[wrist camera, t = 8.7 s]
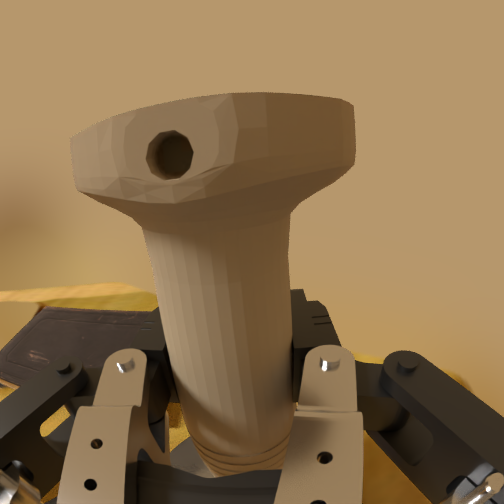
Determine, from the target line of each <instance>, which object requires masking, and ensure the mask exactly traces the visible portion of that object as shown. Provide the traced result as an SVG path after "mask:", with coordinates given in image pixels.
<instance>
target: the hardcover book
mask: <svg viewBox="0 0 504 504" xmlns="http://www.w3.org/2000/svg"><path fill="white" fill-rule="evenodd" d="M149 313H151V311H116V310H94V309H77V308H62V307H49V306H46V307H45V308H44V309H42V310H41V311H40V312H39V313H38V314H37V315H36V316H35V317H34V318H33V319H32V320H31V321H30V322H29V323H28V324H27V325H26V326H24V327H23V328H22V329H21V330H20V332H19V333H17V334H16V335H15V336H14V338H13V339H11V341H9V343H8V344H6V346H5V347H4V348H3V349H2V350H1V351H0V388H6V387H11V388H13V389H18V388H19V387H20V386H22V385H23V384H24V383H26V382H27V381H28V380H30V379H31V378H32V377H34V376H35V375H36V374H37V373H39V372H40V371H41V370H43V369H44V368H46V367H47V366H48V365H50V364H51V363H52V362H54V361H55V360H57V359H59V358H61V357H65V356H75V357H78V358H79V359H80V360H81V361H82V363H83V365H84V368H85V369H87V368H95V367H103V366H104V364H105V361H106V360H107V358H108V357H109V356H110V355H112V354H113V353H115V352H117V351H119V350H123V349H128V348H129V347H130V345H131V343H132V342H133V340H134V338H135V336H136V335H137V333H138V331H139V330H141V326H142V325H143V323H145V322H144V321H145V320H146V318H147V316H148V315H149ZM63 407H65V406H64V405H63Z"/></svg>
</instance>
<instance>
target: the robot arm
mask: <svg viewBox="0 0 504 504" xmlns="http://www.w3.org/2000/svg"><path fill="white" fill-rule="evenodd" d="M290 296H291V314H292V349H293V398H292V402H293V403H294V402H298V406H297V409H295V413H294V417H293V422H292V427H291V432H290V437H289V442H288V446H287V451H286V456H285V460H284V464H283V469H276V470H254V471H249V472H244V473H239V474H234V475H228V476H222V477H216V478H205V477H201V476H198V475H195V474H192V473H189V472H186V471H183V470H180V469H177V468H174V467H172V466H171V462H170V448H169V415H168V412H167V406H168V403H169V402H173V403H180V401H179V397H178V393H177V389H176V385H175V381H174V377H173V372H172V368H171V363H170V358H169V353H168V349H167V344H166V340H165V335H164V330H163V325H162V320H161V315H160V310H159V307H157V308H156V309H155V310H153V311H152V312H151V313H149V315H148V316H147V318H146V320H145V321H144V322H145V323H143V325H142V326H141V330H139V331H138V333H137V335H136V336H135V338H134V340H133V342H132V343H131V345H130V347H129V348H128V349H123V350H119V351H117V352H115V353H113V354H112V355H110V356H109V357H108V358H107V360H106V361H105V364H104V366H103V367H95V368H87V369H85V368H84V365H83V363H82V361H81V360H80V359H79V358H78V357H75V356H65V357H61V358H59V359H57V360H55V361H54V362H52V363H51V364H50V365H48V366H47V367H46V368H44V369H43V370H41V371H40V372H39V373H37V374H36V375H35V376H34V377H32V378H31V379H30V380H28V381H27V382H26V383H24V384H23V385H22V386H20V387H19V388H18V389H16V390H15V391H14V392H13V393H11V394H10V395H9V396H7V397H6V398H5V399H3V400H2V401H1V402H0V504H363V503H362V488H363V430H366V432H367V433H368V435H369V436H370V437H371V438H372V439H373V440H374V441H375V442H376V444H377V445H378V446H379V447H380V448H381V449H382V450H383V451H384V452H385V453H386V455H387V456H388V457H389V458H390V459H391V460H392V461H393V462H394V463H395V464H396V465H397V466H398V468H399V469H400V470H401V471H402V472H403V473H404V474H405V475H406V476H407V477H408V478H409V479H410V480H411V481H412V482H413V484H414V485H415V486H416V487H417V488H418V489H419V490H420V491H421V492H422V493H423V494H424V495H425V496H426V497H427V498H428V499H429V500H430V501H431V502H432V503H433V504H504V417H502V416H501V415H500V414H498V413H497V412H496V411H495V410H493V409H492V408H491V407H489V406H488V405H487V404H485V403H484V402H483V401H481V400H480V399H479V398H477V397H476V396H475V395H474V394H472V393H471V392H470V391H468V390H467V389H466V388H464V387H463V386H462V385H460V384H459V383H458V382H456V381H455V380H454V379H452V378H451V377H450V376H448V375H447V374H446V373H444V372H443V371H442V370H440V369H439V368H437V367H436V366H435V365H433V364H432V363H431V362H429V361H428V360H427V359H425V358H424V357H422V356H421V355H419V354H417V353H415V352H411V351H396V352H393V353H391V354H389V355H388V356H387V357H386V358H385V360H384V363H383V364H373V363H363V362H359V361H356V360H355V359H354V356H353V354H352V353H351V352H350V351H349V350H347V349H345V348H343V347H342V346H341V344H340V341H339V339H338V336H337V334H336V331H335V329H334V326H333V324H332V321H331V319H330V317H329V314H328V311H327V309H326V307H325V306H324V305H322V304H321V303H320V302H319V301H307V300H306V297H305V294H304V291H303V289H293V290H290ZM63 405H64V406H65V408H66V409H67V411H68V412H69V414H70V416H69V417H68V418H67V419H66V420H65V421H64V422H63V423H61V424H60V425H59V426H58V427H57V428H56V429H55V430H54V431H53V432H51V433H50V434H49V435H48V436H46V437H42V436H41V434H40V426H41V424H42V423H43V422H44V421H45V420H47V419H48V418H49V417H50V416H51V415H52V414H54V413H55V412H56V411H57V410H58V409H59V408H61V407H62V406H63ZM419 421H420V422H419ZM59 481H60V486H59V492H58V496H57V497H55V498H54V499H52V500H50V501H48V502H46V503H43V502H42V501H41V499H42V498H43V497H44V496H45V495H46V494H47V493H48V492H49V491H50V490H51V489H52V488H53V487H54V486H55V485H56V484H57V483H58V482H59Z"/></svg>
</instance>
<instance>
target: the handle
mask: <svg viewBox="0 0 504 504" xmlns="http://www.w3.org/2000/svg"><path fill="white" fill-rule="evenodd" d="M355 142H356V139H355V119H354V107H353V105H352V104H350V103H349V102H346V101H344V100H342V99H338V98H330V97H322V96H313V95H302V94H289V93H267V92H256V93H228V94H218V95H209V96H201V97H194V98H189V99H182V100H177V101H172V102H167V103H162V104H157V105H153V106H149V107H144V108H140V109H136V110H133V111H129V112H126V113H122V114H119V115H116V116H113V117H110V118H108V119H105V120H103V121H100V122H98V123H96V124H94V125H92V126H90V127H88V128H86V129H85V130H83V131H81V132H79V133H78V134H76V135H74V136H72V137H71V138H70V148H71V160H72V168H73V176H74V181H75V186H76V188H77V190H78V191H79V192H81V193H83V194H85V195H87V196H89V197H91V198H93V199H95V200H96V201H98V202H100V203H102V204H105V205H107V206H109V207H112V208H114V209H117V210H118V211H120V212H122V213H124V214H126V215H128V216H130V217H132V218H133V219H134V220H135V221H136V222H137V223H138V224H139V225H140V226H141V227H142V230H143V234H144V238H145V242H146V246H147V249H148V253H149V257H150V261H151V264H152V268H153V275H154V281H155V287H156V293H157V299H158V305H159V310H160V315H161V320H162V325H163V330H164V335H165V340H166V344H167V349H168V353H169V358H170V363H171V368H172V372H173V377H174V381H175V385H176V389H177V393H178V397H179V401H180V406H181V409H182V413H183V417H184V421H185V424H186V426H187V429H188V432H189V434H190V436H191V439H192V441H193V443H194V446H195V448H196V450H197V452H198V454H199V455H200V457H201V459H202V460H203V462H204V463H205V465H206V466H207V468H208V469H209V470H210V471H211V473H212V474H213V475H214V477H215V478H216V477H222V476H228V475H234V474H239V473H244V472H249V471H254V470H276V469H283V464H284V460H285V456H286V451H287V446H288V442H289V437H290V432H291V427H292V422H293V417H294V413H295V409H297V405H296V402H294V403H293V402H292V398H293V349H292V314H291V296H290V280H289V263H288V246H289V229H290V214H291V212H292V211H293V210H294V209H295V208H296V207H297V205H298V204H299V203H301V202H302V201H303V200H305V199H307V198H308V197H310V196H311V195H313V194H314V193H316V192H318V191H320V190H321V189H323V188H325V187H327V186H328V185H330V184H332V183H334V182H335V181H336V180H338V179H339V178H340V177H341V176H343V175H344V174H345V173H346V172H347V171H348V170H349V169H350V168H351V167H352V166H353V165H354V162H355V154H356V143H355Z"/></svg>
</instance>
